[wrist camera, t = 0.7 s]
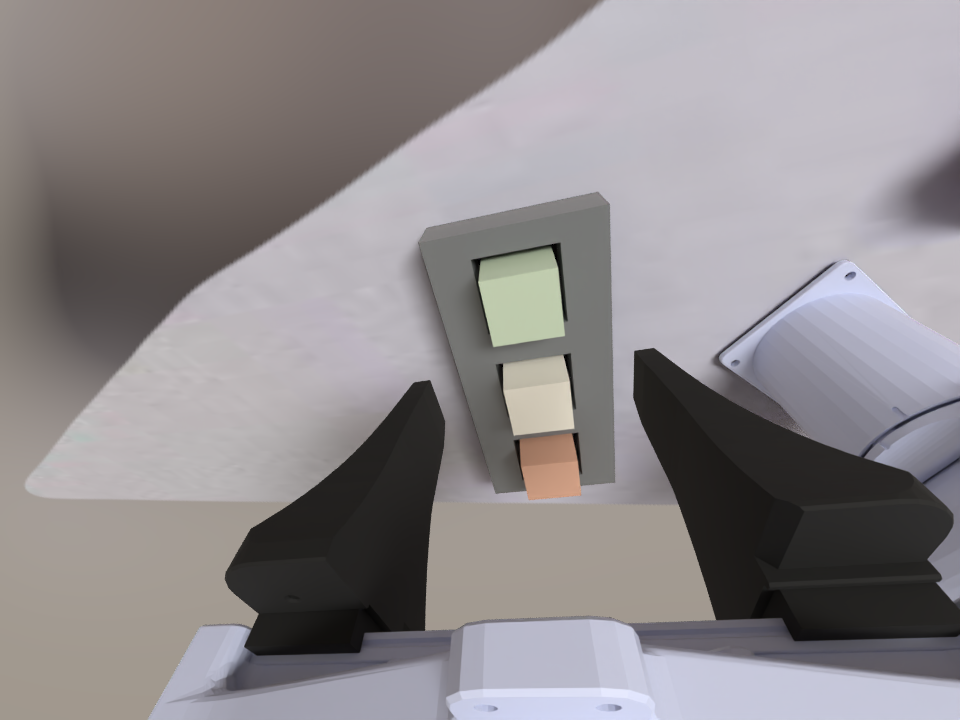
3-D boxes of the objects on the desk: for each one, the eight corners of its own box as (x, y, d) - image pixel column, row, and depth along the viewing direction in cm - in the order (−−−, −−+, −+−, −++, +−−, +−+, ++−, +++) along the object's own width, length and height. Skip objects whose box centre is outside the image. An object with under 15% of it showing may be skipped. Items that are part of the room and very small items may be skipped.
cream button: (567, 395, 25) (574, 428, 22) (512, 402, 25) (513, 435, 23) (562, 350, 23) (569, 381, 20) (503, 359, 23) (503, 390, 21)
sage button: (557, 307, 21) (564, 336, 19) (494, 318, 22) (493, 347, 19) (550, 244, 19) (557, 267, 17) (481, 258, 20) (478, 281, 17)
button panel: (607, 456, 30) (615, 482, 28) (495, 467, 32) (495, 493, 30) (598, 191, 19) (609, 204, 17) (426, 227, 20) (418, 243, 18)
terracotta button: (574, 460, 28) (581, 495, 26) (526, 465, 29) (528, 499, 27) (570, 426, 26) (577, 460, 24) (519, 432, 27) (521, 466, 25)
